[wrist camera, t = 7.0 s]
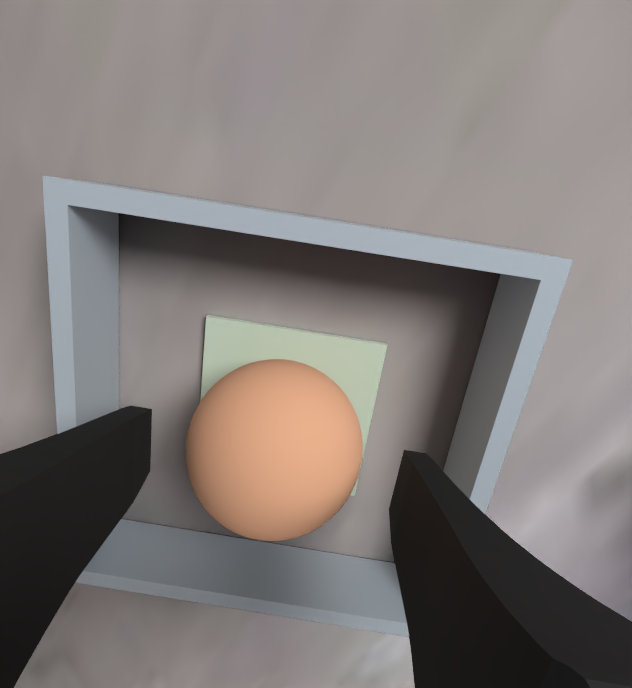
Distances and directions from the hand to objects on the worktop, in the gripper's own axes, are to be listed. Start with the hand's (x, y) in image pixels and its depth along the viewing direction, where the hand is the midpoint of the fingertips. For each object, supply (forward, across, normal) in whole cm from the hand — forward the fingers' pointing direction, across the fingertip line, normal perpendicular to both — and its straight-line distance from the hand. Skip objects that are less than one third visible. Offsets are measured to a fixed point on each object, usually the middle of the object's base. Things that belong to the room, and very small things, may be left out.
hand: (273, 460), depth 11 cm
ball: (+3, 0, 0) cm, 3 cm away
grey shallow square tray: (+3, 0, 0) cm, 3 cm away
